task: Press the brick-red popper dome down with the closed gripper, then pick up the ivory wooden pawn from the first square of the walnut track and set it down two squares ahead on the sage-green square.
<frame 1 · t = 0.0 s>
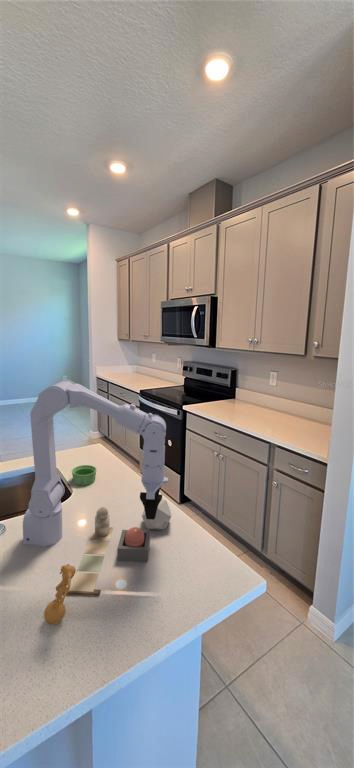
hand: (151, 510, 88), 10 cm above the counter, tool pointing down, fingers open, 7 cm apart
pawn: (102, 532, 93), point 1 cm above the counter, touching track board
die: (156, 527, 98), on the counter
ramekin: (84, 481, 124), on the counter
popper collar: (134, 553, 86), on the counter
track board: (94, 557, 84), on the counter
popper dome: (134, 537, 85), point 5 cm above the counter, slide at 0.0 cm
figurine: (60, 620, 66), on the counter
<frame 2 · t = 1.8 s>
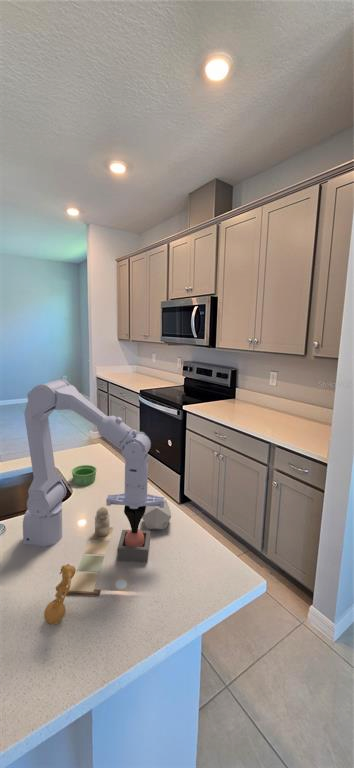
hand: (135, 530, 85), 7 cm above the counter, tool pointing down, fingers closed, pressing on popper dome
popper dome: (134, 539, 85), point 4 cm above the counter, slide at 0.5 cm, touching gripper
everything else where it was.
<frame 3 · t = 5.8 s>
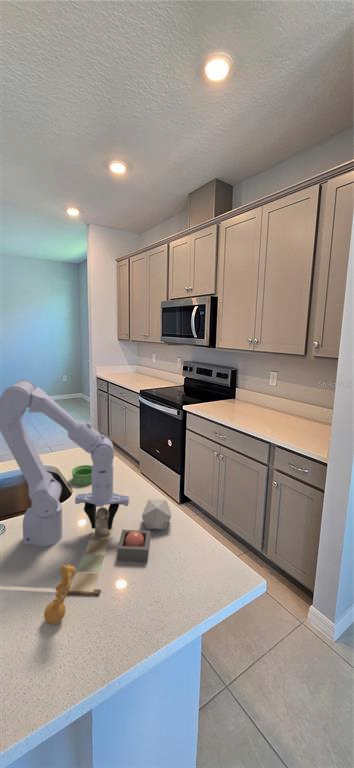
hand: (102, 527, 92), 3 cm above the counter, tool pointing down, fingers closed on pawn, 4 cm apart
pawn: (102, 532, 93), point 1 cm above the counter, touching gripper, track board
popper dome: (134, 541, 85), point 3 cm above the counter, slide at 1.2 cm
everything else where it was.
when the fingers open (4 cm above the counter, at t = 9.9 s): pawn drops 2 cm, resting on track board.
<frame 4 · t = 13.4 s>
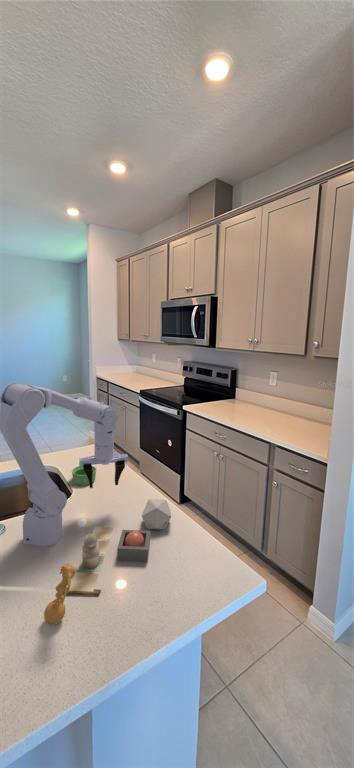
hand: (103, 485, 102), 9 cm above the counter, tool pointing down, fingers open, 7 cm apart
pawn: (91, 562, 81), point 1 cm above the counter, touching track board
everything else where it was.
at the end: popper dome slide at 1.2 cm; pawn 0.0 cm from the target spot on the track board, point 0.8 cm above the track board's base; pawn tilted 2° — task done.
